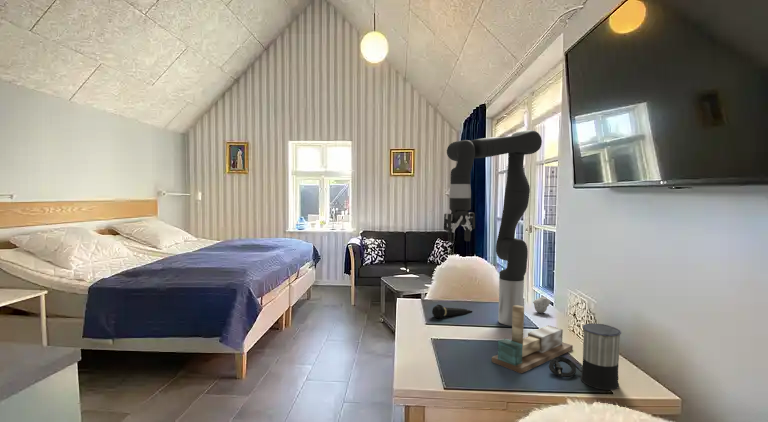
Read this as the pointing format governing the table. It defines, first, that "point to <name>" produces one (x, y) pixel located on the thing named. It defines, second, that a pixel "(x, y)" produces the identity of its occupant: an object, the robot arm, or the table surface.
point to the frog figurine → (541, 304)
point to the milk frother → (595, 357)
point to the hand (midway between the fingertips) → (459, 241)
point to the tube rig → (549, 349)
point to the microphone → (447, 311)
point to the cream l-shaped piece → (528, 343)
